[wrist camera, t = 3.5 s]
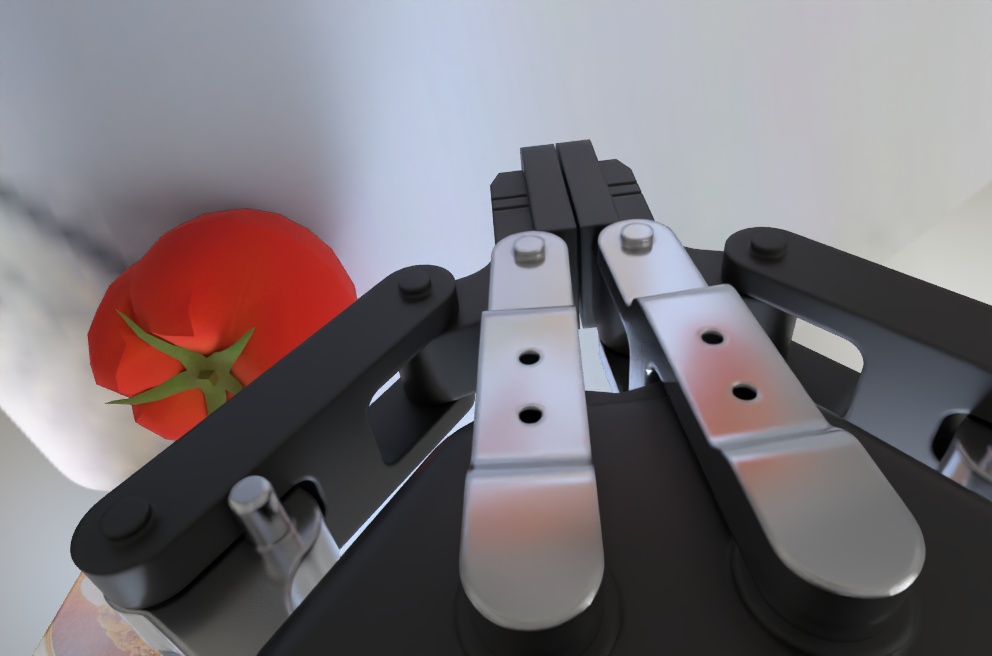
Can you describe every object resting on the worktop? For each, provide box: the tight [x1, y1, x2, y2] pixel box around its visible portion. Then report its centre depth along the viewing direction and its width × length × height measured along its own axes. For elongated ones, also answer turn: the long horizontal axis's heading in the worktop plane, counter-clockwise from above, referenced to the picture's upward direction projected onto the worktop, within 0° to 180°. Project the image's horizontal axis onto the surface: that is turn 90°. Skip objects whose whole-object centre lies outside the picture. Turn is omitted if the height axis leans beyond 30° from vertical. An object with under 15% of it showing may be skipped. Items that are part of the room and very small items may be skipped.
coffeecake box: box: [32, 571, 163, 656], centre depth 48 cm, size 15×7×20 cm, turn 81°
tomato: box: [87, 208, 357, 440], centre depth 37 cm, size 13×14×12 cm
